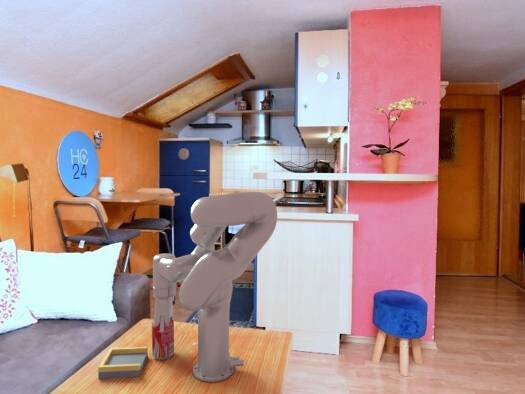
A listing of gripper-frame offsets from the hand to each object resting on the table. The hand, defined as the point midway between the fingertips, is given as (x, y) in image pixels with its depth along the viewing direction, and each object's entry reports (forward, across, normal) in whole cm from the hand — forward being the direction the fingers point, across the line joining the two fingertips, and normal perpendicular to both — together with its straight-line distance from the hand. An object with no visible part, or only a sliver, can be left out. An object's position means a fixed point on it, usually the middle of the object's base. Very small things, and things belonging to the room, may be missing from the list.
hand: (164, 343), depth 127 cm
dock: (+3, +8, -11) cm, 14 cm away
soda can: (+4, +2, 0) cm, 4 cm away
